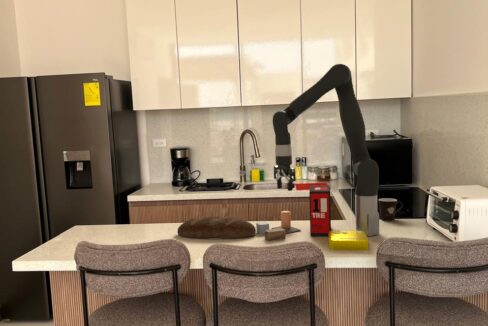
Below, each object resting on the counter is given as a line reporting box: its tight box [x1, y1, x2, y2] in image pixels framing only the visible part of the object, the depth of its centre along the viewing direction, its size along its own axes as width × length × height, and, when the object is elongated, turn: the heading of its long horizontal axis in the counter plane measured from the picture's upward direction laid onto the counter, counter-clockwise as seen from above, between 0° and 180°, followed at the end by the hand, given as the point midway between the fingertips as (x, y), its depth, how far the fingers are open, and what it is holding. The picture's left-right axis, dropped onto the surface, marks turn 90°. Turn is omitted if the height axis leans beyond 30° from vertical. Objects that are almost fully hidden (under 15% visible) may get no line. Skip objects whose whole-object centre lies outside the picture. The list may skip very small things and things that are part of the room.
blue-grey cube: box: [255, 221, 270, 235], centre depth 190 cm, size 4×4×4 cm
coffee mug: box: [378, 197, 404, 222], centre depth 206 cm, size 12×9×10 cm
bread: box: [176, 216, 257, 240], centre depth 189 cm, size 16×36×8 cm, turn 81°
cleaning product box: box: [308, 185, 332, 238], centre depth 187 cm, size 16×9×20 cm, turn 168°
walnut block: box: [264, 228, 287, 242], centre depth 180 cm, size 4×8×4 cm, turn 112°
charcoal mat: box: [270, 225, 302, 235], centre depth 193 cm, size 11×9×1 cm
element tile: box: [327, 229, 369, 252], centre depth 167 cm, size 15×15×5 cm
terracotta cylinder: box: [280, 210, 292, 230], centre depth 193 cm, size 4×4×8 cm
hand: (284, 189), depth 192 cm, fingers open, 8 cm apart
